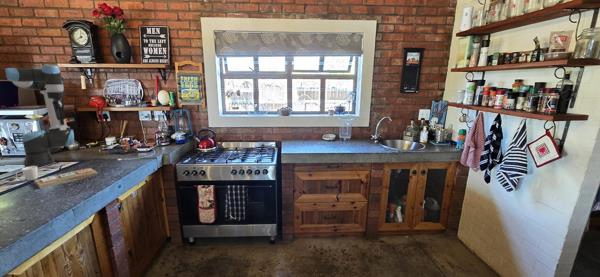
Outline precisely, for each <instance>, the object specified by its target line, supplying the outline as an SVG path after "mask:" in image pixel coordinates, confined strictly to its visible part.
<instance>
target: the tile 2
mask: <svg viewBox="0 0 600 277" xmlns="http://www.w3.org/2000/svg"><path fill="white" fill-rule="evenodd" d="M69 172H70V173H68V172H65V173H66V174H64V173H60V174H61V175H59V174H58V175H59V177H60V178H61V179H62V178H66V177H71V176H75V174H74V173H72V172H73V171H69Z"/></svg>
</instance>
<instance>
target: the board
mask: <svg viewBox="0 0 600 277" xmlns="http://www.w3.org/2000/svg"><path fill="white" fill-rule="evenodd" d="M84 169H85V168H82V169H79V170H74V171H69V172H64V173H63V174H66V173H70V172H72V173H74V174H75V176H71V177H66V178H62V179H61V178H60V177H59V175H61V174H62V173H59V174H55V175H50V176H49V177H52V176H55V177H56V178H57V180H53V181H49V182H44V183H42V182H41V181H40V179H43V178H47V177H48V176H45V177H42V178H37V179H34V180H33V182H34V184H35V185H36V186H37V187H38V188H39V189H40V190H41V189H45V188H49V187H53V186H57V185H62V184H65V183H71V182H74V181H79V180H82V179H87V178H90V177H96V176H98V175H99V174H98V171H96V169H93V168H91V167H87V168H86V169H89V170H91V172H88V173H84V174H80V175H79V174H77V173H76V171H80V170H84Z"/></svg>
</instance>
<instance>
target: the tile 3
mask: <svg viewBox="0 0 600 277" xmlns="http://www.w3.org/2000/svg"><path fill="white" fill-rule="evenodd" d="M83 169H84V170H82V169H79V170H80V171H78V170H75V171H76V173H77V174H79V175H80V174H84V173H88V172H91V170H89V169H87V168H83Z"/></svg>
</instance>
